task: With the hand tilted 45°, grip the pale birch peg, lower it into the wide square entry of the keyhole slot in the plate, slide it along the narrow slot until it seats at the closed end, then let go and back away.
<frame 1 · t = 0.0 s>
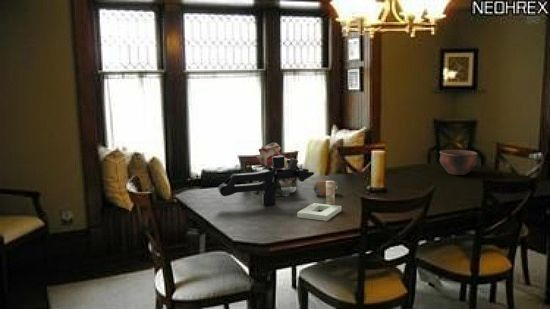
hand: (311, 171, 297), 17 cm above the table, tool horizontal, fingers open, 9 cm apart
keyhole plate: (319, 213, 272), on the table
tin: (326, 195, 313), on the table
bowl: (457, 173, 362), on the table
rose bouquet: (276, 191, 324), on the table
peg: (330, 207, 284), on the table
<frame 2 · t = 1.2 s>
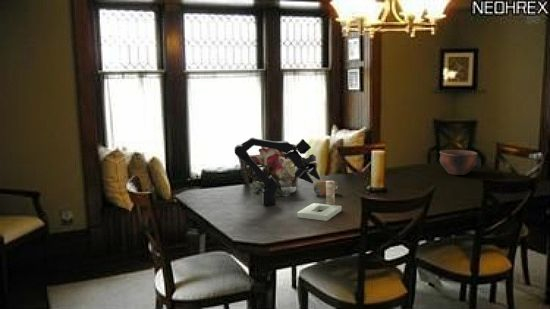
hand: (316, 181, 286), 14 cm above the table, tool tilted 45°, fingers open, 9 cm apart
nothing on the table moved.
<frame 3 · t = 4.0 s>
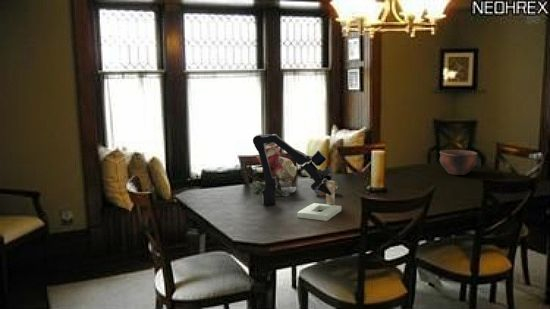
hand: (332, 193, 282), 8 cm above the table, tool tilted 45°, fingers closed on peg, 4 cm apart
peg: (330, 207, 284), on the table, touching gripper
everything else where it was.
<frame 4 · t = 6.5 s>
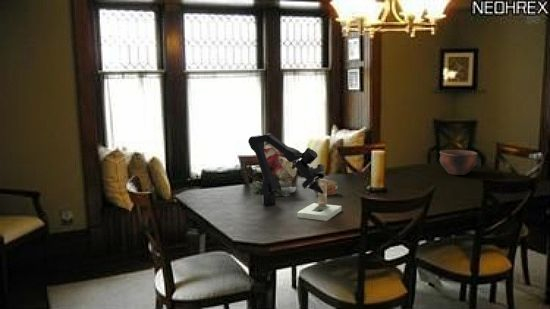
hand: (324, 192, 273), 11 cm above the table, tool tilted 45°, fingers closed on peg, 4 cm apart
peg: (322, 206, 275), point 3 cm above the table, touching gripper
everything else where it was.
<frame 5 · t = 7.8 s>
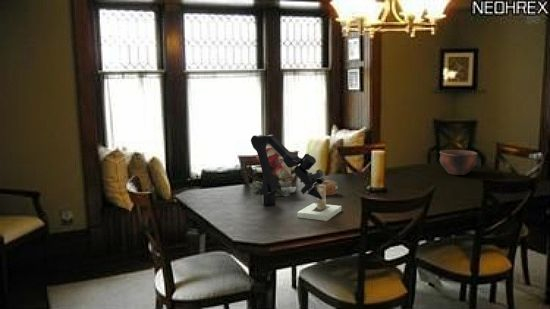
hand: (323, 197, 272), 8 cm above the table, tool tilted 45°, fingers closed on peg, 4 cm apart
peg: (321, 211, 274), resting in keyhole plate, touching gripper
everything else where it was.
when the fingers open (8 cm above the table, at t = 9.0 s): peg stays where it is, resting in keyhole plate.
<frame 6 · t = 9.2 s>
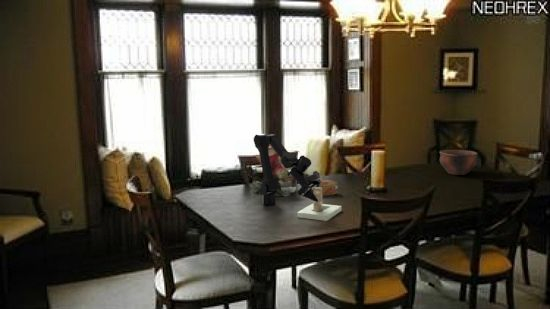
hand: (320, 199, 268), 8 cm above the table, tool tilted 45°, fingers open, 7 cm apart
peg: (318, 215, 270), resting in keyhole plate
everything else where it was.
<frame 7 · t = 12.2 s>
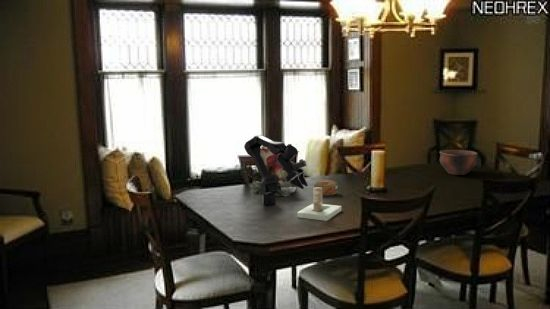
hand: (305, 187, 275), 13 cm above the table, tool tilted 40°, fingers open, 9 cm apart
nothing on the table moved.
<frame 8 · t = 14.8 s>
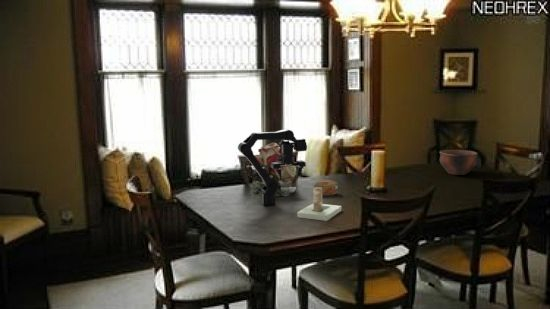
hand: (288, 179, 294), 13 cm above the table, tool pointing down, fingers open, 9 cm apart
nothing on the table moved.
at the end: peg 0.5 cm from the target spot on the keyhole plate, point 0.0 cm above the keyhole plate's base; peg tilted 0°; the gripper is holding nothing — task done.
